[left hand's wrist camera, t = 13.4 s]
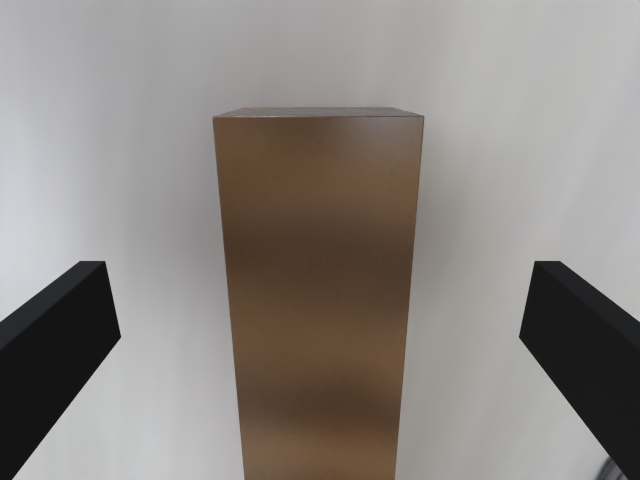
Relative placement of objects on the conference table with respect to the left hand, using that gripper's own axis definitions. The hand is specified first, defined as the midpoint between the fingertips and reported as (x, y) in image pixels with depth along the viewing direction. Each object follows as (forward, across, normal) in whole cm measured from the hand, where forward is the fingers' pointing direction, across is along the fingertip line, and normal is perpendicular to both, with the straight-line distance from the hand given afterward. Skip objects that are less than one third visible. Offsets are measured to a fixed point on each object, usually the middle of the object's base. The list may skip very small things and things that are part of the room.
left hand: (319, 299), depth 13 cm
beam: (+13, 0, -27) cm, 30 cm away
